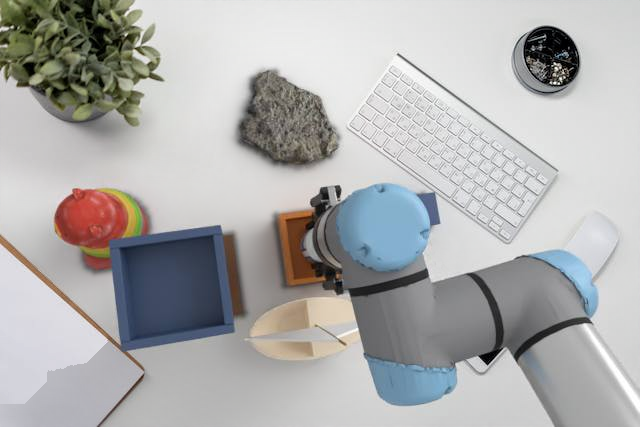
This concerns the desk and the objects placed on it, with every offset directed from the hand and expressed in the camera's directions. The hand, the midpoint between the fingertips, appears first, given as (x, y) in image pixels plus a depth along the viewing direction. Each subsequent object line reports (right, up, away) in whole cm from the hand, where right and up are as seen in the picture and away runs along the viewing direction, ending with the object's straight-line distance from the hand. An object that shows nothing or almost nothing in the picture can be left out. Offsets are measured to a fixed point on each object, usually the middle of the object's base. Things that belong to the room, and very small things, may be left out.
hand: (317, 245), depth 81 cm
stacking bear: (-30, +3, -3) cm, 30 cm away
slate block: (+15, +5, +5) cm, 17 cm away
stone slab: (-4, +19, +3) cm, 20 cm away
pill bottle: (0, 0, +1) cm, 1 cm away
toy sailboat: (-1, -12, 0) cm, 12 cm away
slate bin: (-18, -5, -2) cm, 19 cm away
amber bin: (0, 0, +2) cm, 2 cm away
